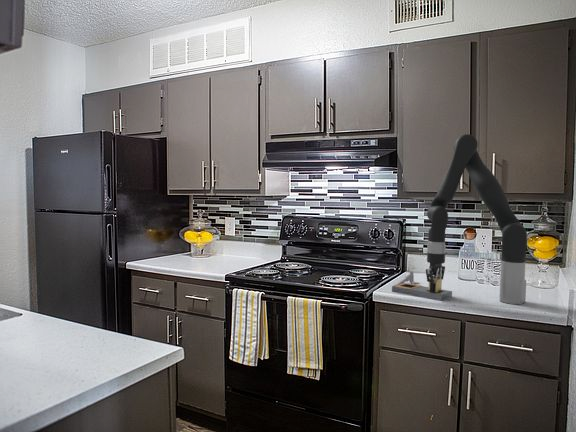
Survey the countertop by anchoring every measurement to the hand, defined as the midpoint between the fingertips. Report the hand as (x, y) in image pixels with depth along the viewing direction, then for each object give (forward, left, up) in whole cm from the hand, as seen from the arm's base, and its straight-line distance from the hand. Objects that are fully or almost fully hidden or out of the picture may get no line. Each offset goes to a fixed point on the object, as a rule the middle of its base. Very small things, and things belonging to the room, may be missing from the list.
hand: (434, 290), depth 204 cm
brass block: (0, 0, -3) cm, 3 cm away
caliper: (+22, -11, -3) cm, 25 cm away
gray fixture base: (+6, 0, -3) cm, 7 cm away
